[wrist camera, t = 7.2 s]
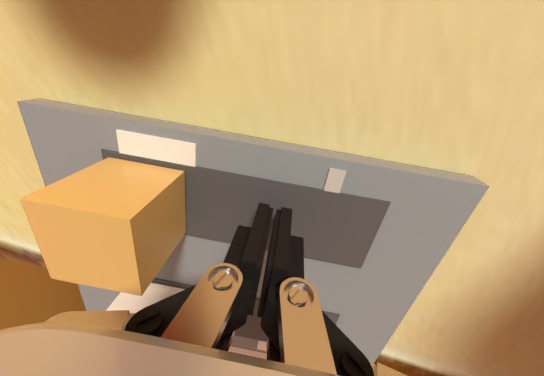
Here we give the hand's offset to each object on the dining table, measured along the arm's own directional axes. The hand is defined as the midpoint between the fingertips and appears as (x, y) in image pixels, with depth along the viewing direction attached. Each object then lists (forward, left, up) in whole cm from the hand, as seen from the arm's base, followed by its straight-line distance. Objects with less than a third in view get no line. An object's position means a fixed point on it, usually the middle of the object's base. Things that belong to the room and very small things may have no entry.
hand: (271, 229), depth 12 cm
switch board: (+2, +5, -3) cm, 6 cm away
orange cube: (+7, 0, -1) cm, 7 cm away
